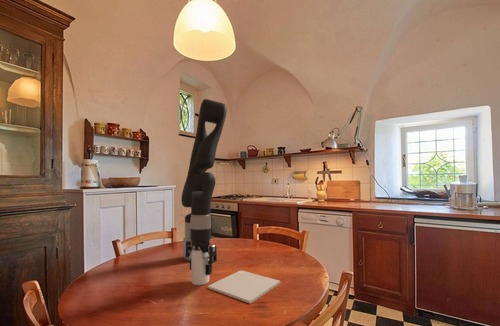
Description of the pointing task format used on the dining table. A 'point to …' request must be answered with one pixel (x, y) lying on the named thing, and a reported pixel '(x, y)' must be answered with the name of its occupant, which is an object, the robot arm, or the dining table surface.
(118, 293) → the dining table surface
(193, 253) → the can
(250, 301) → the tile mat
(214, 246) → the robot arm
